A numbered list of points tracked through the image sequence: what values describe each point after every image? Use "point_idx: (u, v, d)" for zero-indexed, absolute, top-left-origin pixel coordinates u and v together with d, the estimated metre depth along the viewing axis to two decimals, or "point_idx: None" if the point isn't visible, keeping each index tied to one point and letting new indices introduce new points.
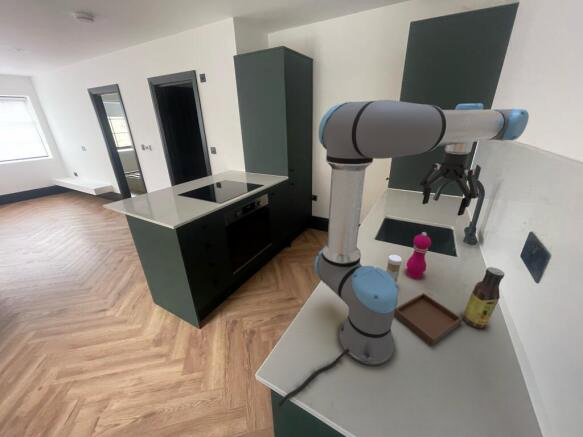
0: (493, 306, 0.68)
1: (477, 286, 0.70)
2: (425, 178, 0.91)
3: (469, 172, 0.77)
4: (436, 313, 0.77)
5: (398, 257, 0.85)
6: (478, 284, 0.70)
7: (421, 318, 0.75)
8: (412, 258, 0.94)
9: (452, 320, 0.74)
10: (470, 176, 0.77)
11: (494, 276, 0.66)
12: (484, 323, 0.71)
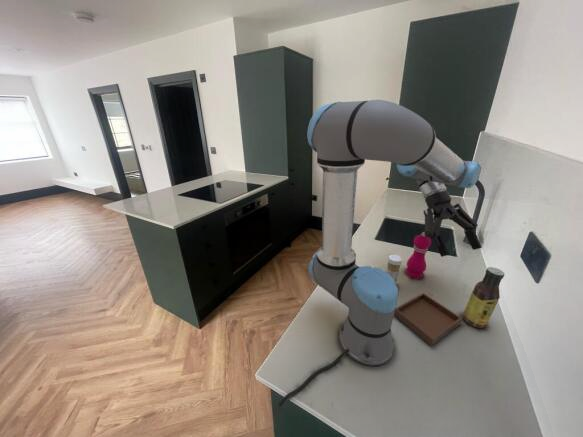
0: (493, 306, 0.68)
1: (477, 286, 0.70)
2: None
3: None
4: (436, 313, 0.77)
5: (398, 257, 0.85)
6: (478, 284, 0.70)
7: (421, 318, 0.75)
8: (412, 258, 0.94)
9: (452, 320, 0.74)
10: None
11: (494, 276, 0.66)
12: (484, 323, 0.71)
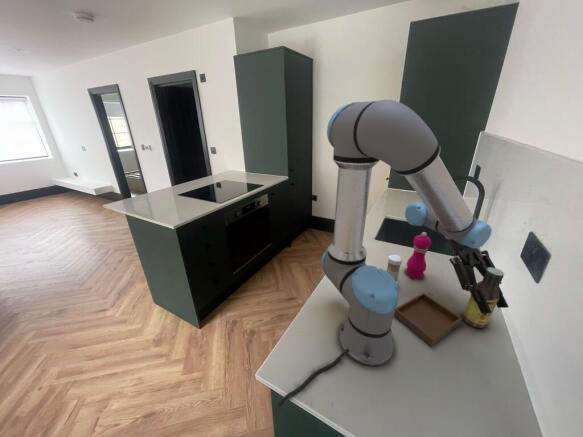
0: (493, 306, 0.68)
1: (477, 286, 0.70)
2: None
3: None
4: (436, 313, 0.77)
5: (398, 257, 0.85)
6: (478, 284, 0.70)
7: (421, 318, 0.75)
8: (412, 258, 0.94)
9: (452, 320, 0.74)
10: None
11: (493, 277, 0.66)
12: (484, 323, 0.71)
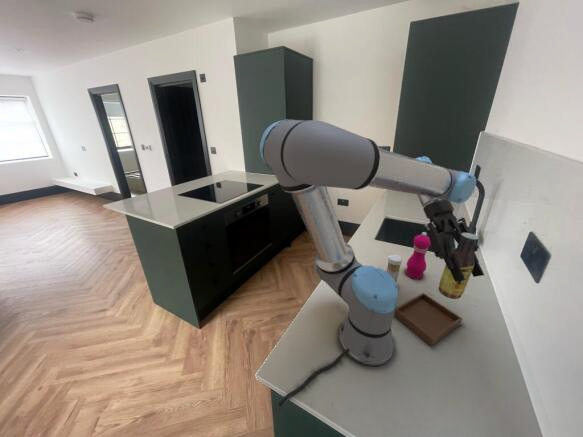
0: (467, 274, 0.64)
1: (451, 253, 0.66)
2: None
3: None
4: (436, 313, 0.77)
5: (398, 257, 0.85)
6: (452, 251, 0.66)
7: (421, 318, 0.75)
8: (412, 258, 0.94)
9: (452, 320, 0.74)
10: None
11: (467, 241, 0.61)
12: (459, 293, 0.66)
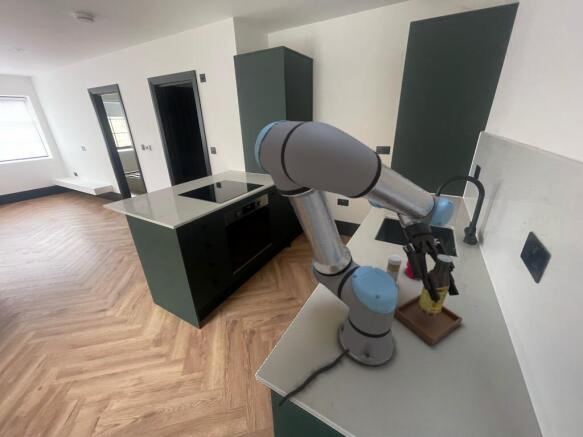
0: (443, 294, 0.67)
1: (428, 274, 0.69)
2: None
3: None
4: None
5: (398, 257, 0.85)
6: (429, 272, 0.69)
7: (421, 318, 0.75)
8: None
9: (452, 320, 0.74)
10: None
11: (442, 263, 0.65)
12: (436, 311, 0.70)
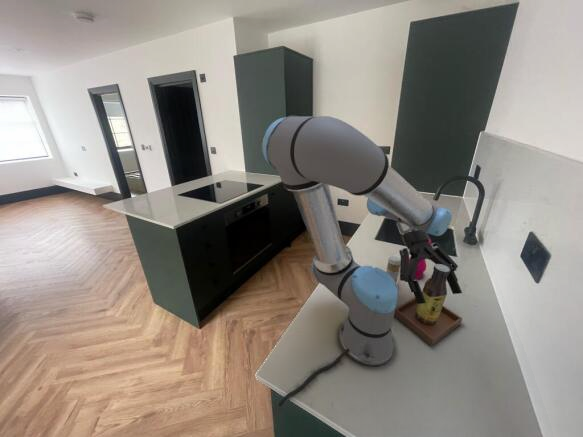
0: (441, 302, 0.69)
1: (426, 283, 0.71)
2: None
3: None
4: None
5: (398, 257, 0.85)
6: (427, 281, 0.71)
7: None
8: None
9: (452, 320, 0.74)
10: None
11: (439, 273, 0.66)
12: (433, 319, 0.71)
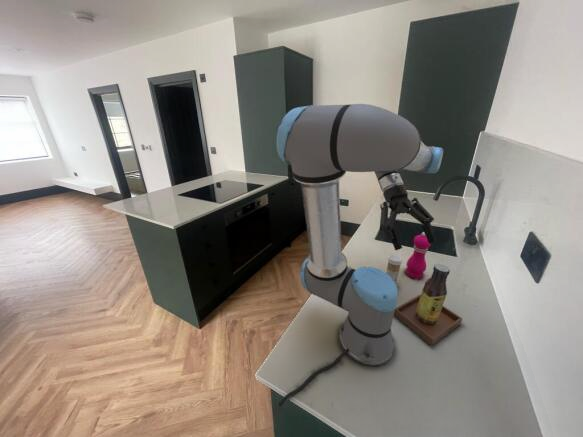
0: (440, 302, 0.69)
1: (426, 283, 0.71)
2: None
3: None
4: None
5: (398, 257, 0.85)
6: (427, 281, 0.71)
7: None
8: (412, 258, 0.94)
9: (452, 320, 0.74)
10: None
11: (439, 273, 0.66)
12: (433, 319, 0.71)
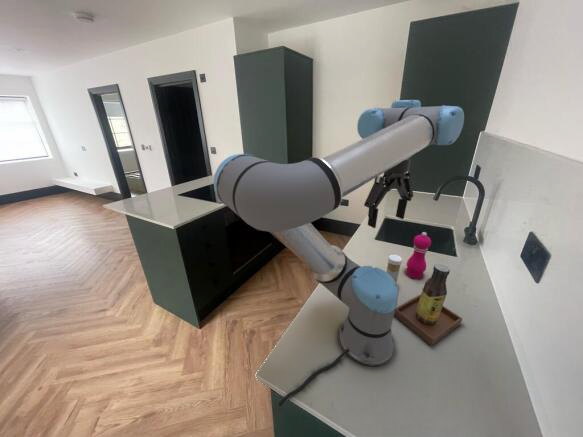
0: (440, 302, 0.69)
1: (426, 283, 0.71)
2: None
3: None
4: None
5: (398, 257, 0.85)
6: (427, 281, 0.71)
7: None
8: (412, 258, 0.94)
9: (452, 320, 0.74)
10: None
11: (439, 273, 0.66)
12: (433, 319, 0.71)
